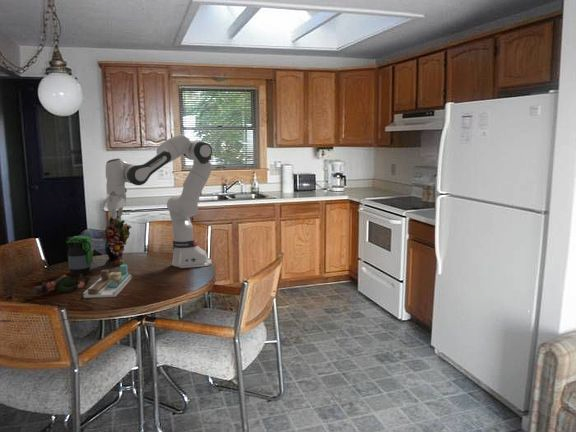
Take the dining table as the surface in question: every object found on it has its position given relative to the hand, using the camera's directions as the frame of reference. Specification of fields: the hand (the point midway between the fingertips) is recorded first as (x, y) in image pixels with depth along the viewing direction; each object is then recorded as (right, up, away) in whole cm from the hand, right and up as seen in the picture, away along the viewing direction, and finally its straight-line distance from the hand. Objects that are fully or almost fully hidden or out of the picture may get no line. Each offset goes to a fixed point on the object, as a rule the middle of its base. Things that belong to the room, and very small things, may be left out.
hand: (117, 217), depth 238 cm
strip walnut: (-1, -33, -19) cm, 38 cm away
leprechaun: (-18, -35, -20) cm, 45 cm away
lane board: (+2, -34, -16) cm, 37 cm away
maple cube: (+5, -32, -16) cm, 36 cm away
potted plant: (-22, -30, +9) cm, 39 cm away
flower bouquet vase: (-9, -28, +26) cm, 39 cm away
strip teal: (+4, -32, -10) cm, 33 cm away
